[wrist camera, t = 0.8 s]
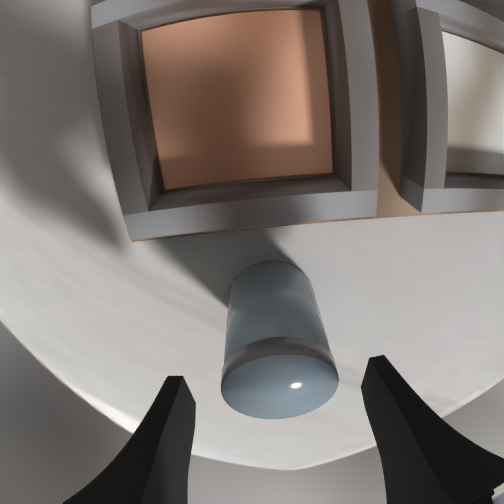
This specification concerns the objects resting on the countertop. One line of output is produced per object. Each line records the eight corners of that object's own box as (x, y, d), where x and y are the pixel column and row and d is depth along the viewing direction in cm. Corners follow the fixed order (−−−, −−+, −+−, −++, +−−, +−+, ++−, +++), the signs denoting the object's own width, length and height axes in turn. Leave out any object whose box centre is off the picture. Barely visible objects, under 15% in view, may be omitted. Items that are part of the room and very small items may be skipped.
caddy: (516, 35, 7) (550, 36, 5) (513, 204, 13) (543, 224, 10) (101, 11, 8) (67, -4, 5) (138, 232, 13) (116, 265, 11)
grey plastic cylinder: (314, 256, 14) (346, 347, 9) (312, 323, 16) (332, 412, 11) (222, 265, 14) (209, 360, 9) (234, 330, 17) (230, 421, 11)
